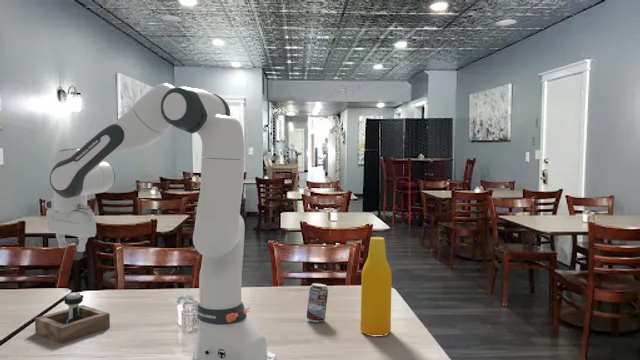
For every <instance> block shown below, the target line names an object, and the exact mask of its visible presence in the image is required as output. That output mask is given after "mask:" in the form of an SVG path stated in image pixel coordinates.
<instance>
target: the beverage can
mask: <svg viewBox="0 0 640 360" xmlns="http://www.w3.org/2000/svg"><path fill="white" fill-rule="evenodd" d="M308 290H309V291H308V300H307V307H306V308H307V310H306V319H308V321H310V322H314V323H320V322H319V321H322V320H323V321H325V320H326V312H327V303H328V302H327V301H328V294H329V289H328V286H327V284H322V283H312V284H311V285H310V287H309V289H308ZM323 321H322V322H323Z"/></svg>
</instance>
